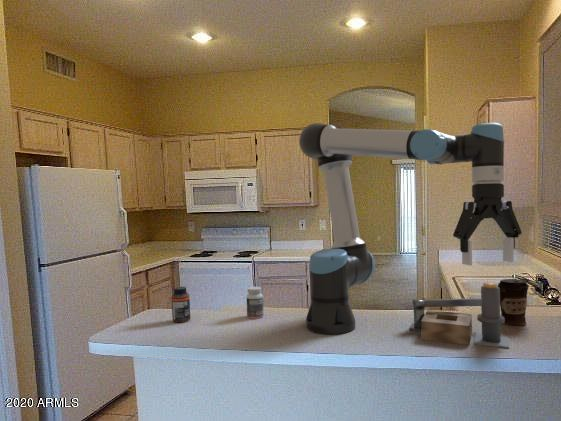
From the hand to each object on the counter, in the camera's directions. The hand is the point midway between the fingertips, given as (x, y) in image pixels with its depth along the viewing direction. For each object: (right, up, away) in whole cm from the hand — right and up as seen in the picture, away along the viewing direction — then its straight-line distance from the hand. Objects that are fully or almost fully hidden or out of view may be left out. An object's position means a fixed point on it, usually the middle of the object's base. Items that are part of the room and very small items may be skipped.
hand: (488, 263), depth 107 cm
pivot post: (-14, -21, +13) cm, 28 cm away
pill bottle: (-64, -23, +31) cm, 74 cm away
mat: (+1, -21, 0) cm, 21 cm away
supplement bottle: (-89, -24, +29) cm, 96 cm away
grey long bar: (-6, -14, +12) cm, 20 cm away
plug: (+1, -20, 0) cm, 20 cm away
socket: (-8, -21, +6) cm, 23 cm away
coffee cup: (+16, -20, +15) cm, 30 cm away
